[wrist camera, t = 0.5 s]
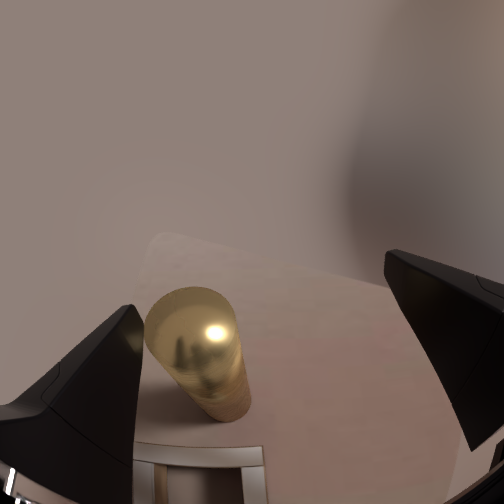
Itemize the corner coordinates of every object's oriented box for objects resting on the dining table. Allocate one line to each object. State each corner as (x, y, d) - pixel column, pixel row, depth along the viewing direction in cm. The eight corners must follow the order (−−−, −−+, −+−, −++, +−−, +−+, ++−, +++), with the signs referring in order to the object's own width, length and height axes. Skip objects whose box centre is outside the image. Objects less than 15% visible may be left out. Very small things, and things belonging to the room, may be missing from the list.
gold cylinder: (253, 420, 18) (238, 366, 9) (202, 422, 18) (137, 367, 9) (249, 376, 21) (234, 283, 12) (202, 378, 21) (150, 289, 12)
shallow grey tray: (272, 545, 10) (273, 556, 8) (151, 538, 10) (136, 544, 8) (263, 447, 16) (262, 445, 14) (148, 445, 16) (132, 440, 14)
